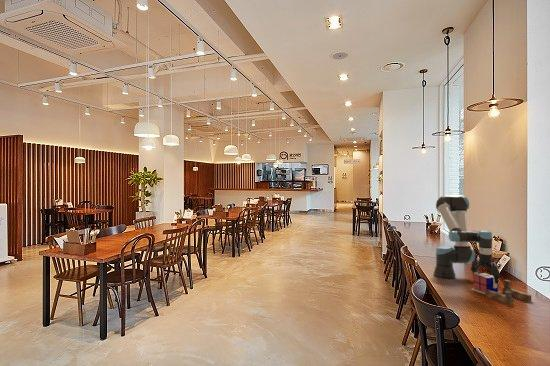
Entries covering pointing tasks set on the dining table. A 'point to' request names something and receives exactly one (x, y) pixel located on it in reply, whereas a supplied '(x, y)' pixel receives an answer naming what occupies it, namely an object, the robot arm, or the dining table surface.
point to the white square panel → (480, 291)
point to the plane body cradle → (508, 294)
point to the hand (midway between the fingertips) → (485, 284)
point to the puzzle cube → (484, 282)
